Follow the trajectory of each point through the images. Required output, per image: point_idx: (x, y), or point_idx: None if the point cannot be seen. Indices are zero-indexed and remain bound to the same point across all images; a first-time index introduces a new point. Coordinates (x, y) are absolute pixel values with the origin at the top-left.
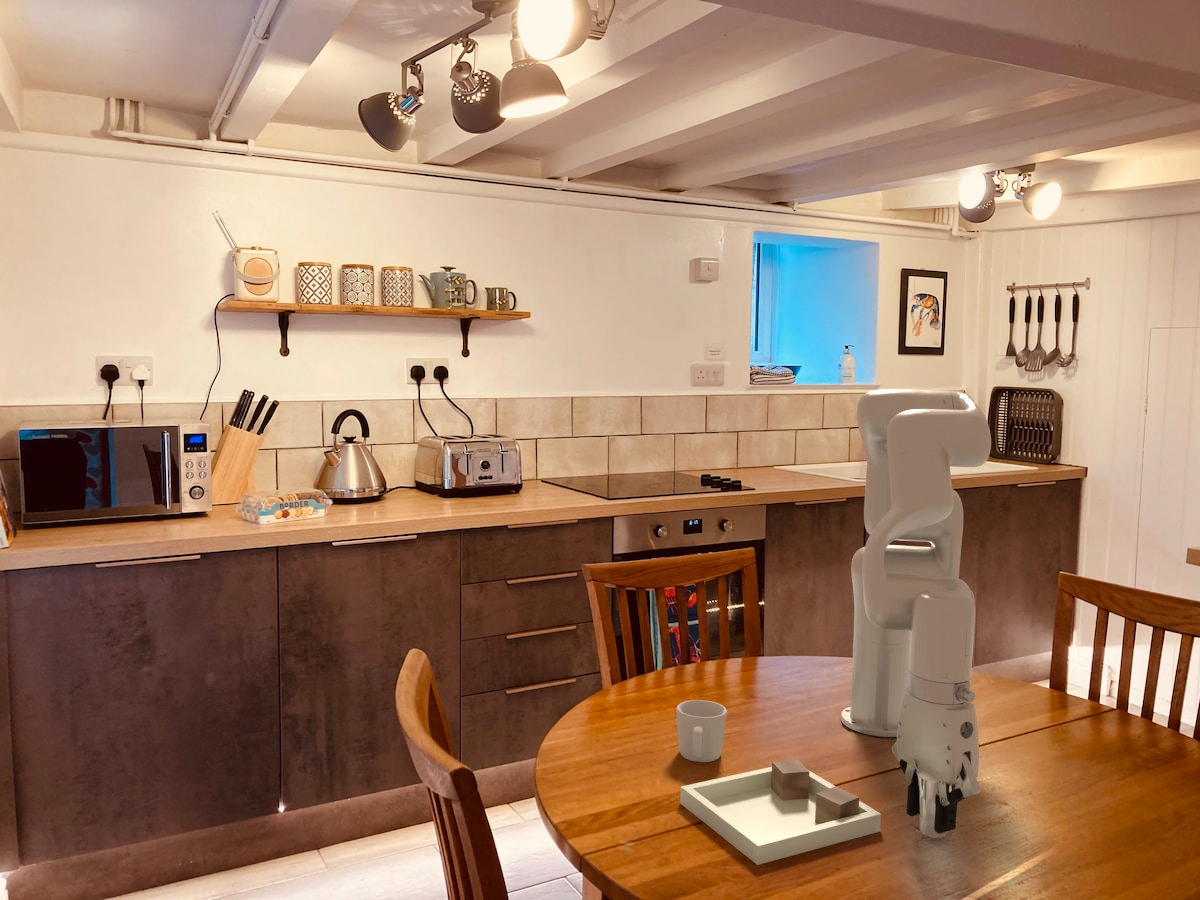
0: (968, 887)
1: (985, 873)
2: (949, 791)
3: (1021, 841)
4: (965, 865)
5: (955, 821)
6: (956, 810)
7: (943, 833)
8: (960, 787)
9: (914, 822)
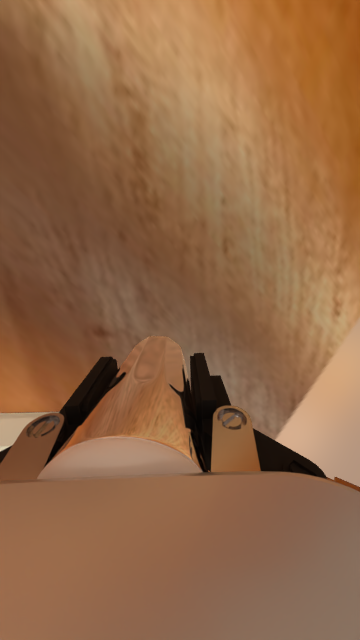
0: (295, 397)
1: (282, 341)
2: (201, 442)
3: (235, 153)
4: (246, 352)
5: (221, 380)
6: (229, 401)
7: (184, 360)
8: (259, 465)
9: (81, 322)
